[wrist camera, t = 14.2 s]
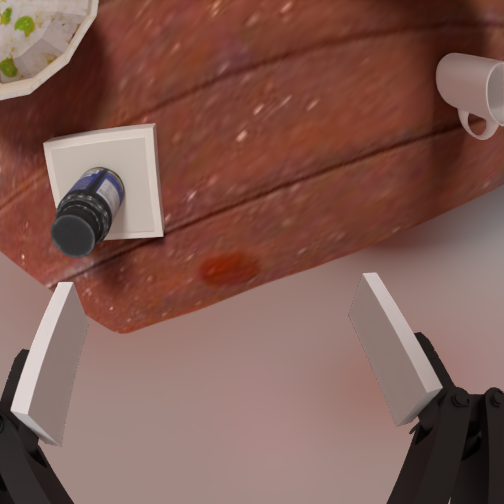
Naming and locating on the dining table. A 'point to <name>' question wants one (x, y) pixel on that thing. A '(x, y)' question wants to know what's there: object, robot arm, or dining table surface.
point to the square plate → (122, 163)
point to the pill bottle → (87, 212)
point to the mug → (473, 89)
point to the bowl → (39, 40)
